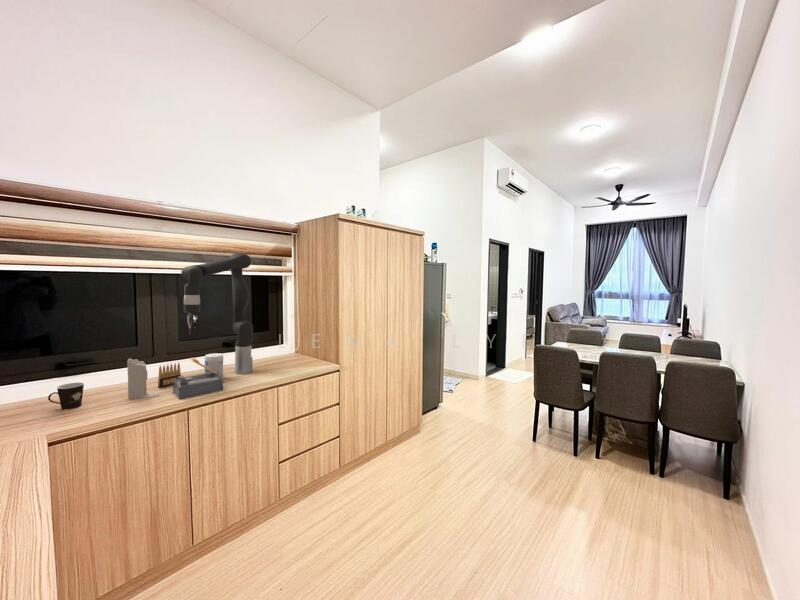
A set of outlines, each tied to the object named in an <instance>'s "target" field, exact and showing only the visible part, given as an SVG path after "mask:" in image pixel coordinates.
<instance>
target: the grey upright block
mask: <svg viewBox="0 0 800 600" xmlns="http://www.w3.org/2000/svg"><path fill="white" fill-rule="evenodd" d="M126 364H127V394H128V395H127V397H128V400H138V399H145V398H146V399H148V398H153V397H157V396H162V395H163V392H147V386H148V385H147V380H148V369H147V364H146V363H145V361H143V360H141V361H140V360H138V359H137V358H136V359H133V358H128V359H127V362H126Z"/></svg>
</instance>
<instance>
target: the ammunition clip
mask: <svg viewBox="0 0 800 600" xmlns="http://www.w3.org/2000/svg"><path fill="white" fill-rule="evenodd" d="M178 376H182V374H181V365H180V362H178V363H177V364H176V363H171V364H170V365H169V363H168V364H167V365H165V364H163V365H162V366H161V365H159V367H158V378H157V379H158V381H157V387H158V388H159V389H161V388H166V387H171V386H173V381H174V380H178Z"/></svg>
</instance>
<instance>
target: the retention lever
mask: <svg viewBox="0 0 800 600" xmlns="http://www.w3.org/2000/svg"><path fill="white" fill-rule="evenodd" d="M190 361H191V362H193V363H195V364H197V365H199V366H201V367H202V368H204V370H205V369H207V370H209V371H211V372H212V373H214V374H215V373H216V372H215V371H213V370H211V369H209V368H208V367H206V366H205V364H203V363H200V361H199V360H198V359H196V358H195V357H191V359H190Z"/></svg>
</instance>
